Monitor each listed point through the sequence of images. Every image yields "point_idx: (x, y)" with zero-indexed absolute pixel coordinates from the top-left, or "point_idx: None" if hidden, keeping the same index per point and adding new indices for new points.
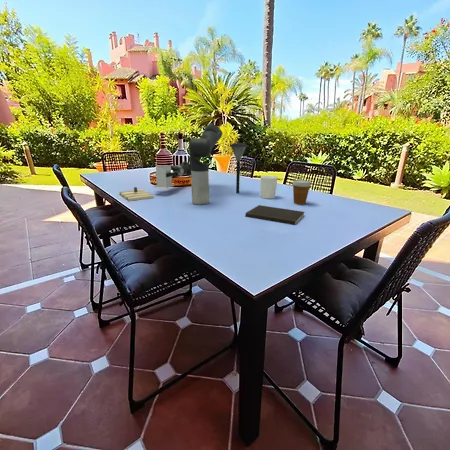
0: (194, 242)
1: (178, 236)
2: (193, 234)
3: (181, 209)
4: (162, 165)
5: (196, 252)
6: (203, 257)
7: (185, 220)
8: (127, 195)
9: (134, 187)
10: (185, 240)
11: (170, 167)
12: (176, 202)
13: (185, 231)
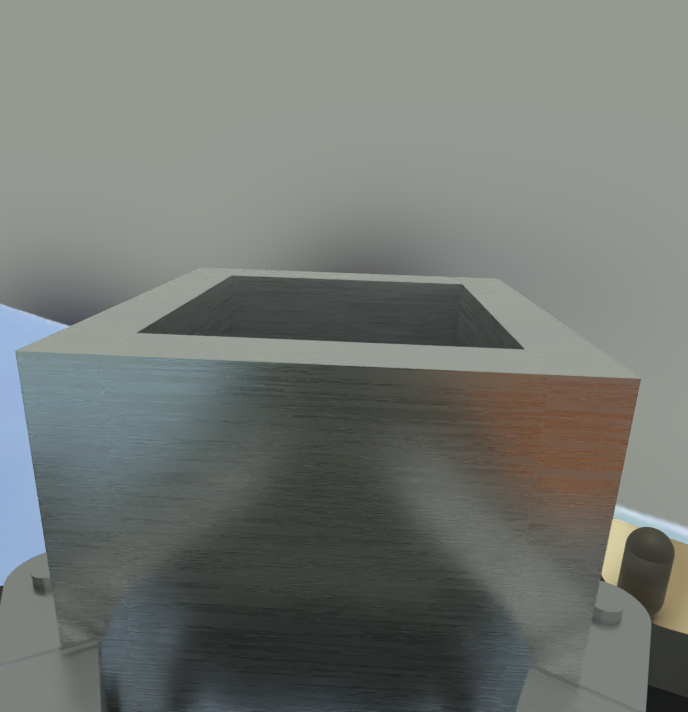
0: (10, 322)
1: (53, 330)
2: (3, 336)
3: (14, 442)
4: (517, 355)
5: (14, 311)
6: (2, 307)
7: (13, 374)
8: (618, 534)
9: (650, 527)
10: (34, 324)
11: (53, 417)
12: (44, 542)
13: (27, 341)
